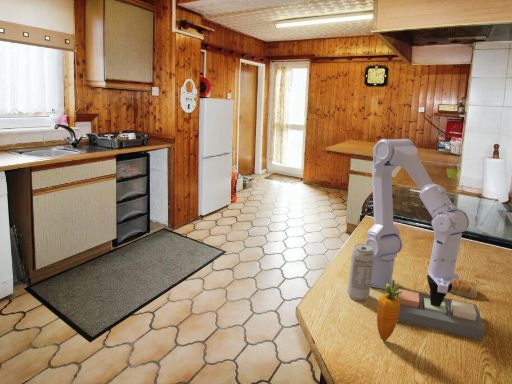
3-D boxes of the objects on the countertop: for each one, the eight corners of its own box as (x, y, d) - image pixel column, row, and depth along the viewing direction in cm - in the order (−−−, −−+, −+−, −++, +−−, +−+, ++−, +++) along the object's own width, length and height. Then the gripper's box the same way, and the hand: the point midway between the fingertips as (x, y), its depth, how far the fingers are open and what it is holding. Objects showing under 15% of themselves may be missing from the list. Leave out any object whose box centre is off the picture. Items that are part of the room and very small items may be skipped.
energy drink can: (368, 292, 107) (375, 245, 103) (368, 303, 101) (375, 253, 97) (347, 288, 108) (353, 241, 105) (346, 299, 103) (351, 249, 99)
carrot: (389, 334, 88) (398, 277, 84) (398, 347, 84) (407, 289, 80) (369, 333, 88) (377, 277, 84) (376, 347, 83) (385, 288, 79)
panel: (389, 318, 94) (391, 308, 94) (391, 296, 105) (392, 287, 105) (482, 340, 87) (485, 330, 86) (474, 314, 98) (476, 304, 97)
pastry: (441, 293, 109) (443, 281, 108) (439, 283, 115) (441, 272, 114) (477, 300, 105) (479, 288, 104) (473, 289, 112) (475, 278, 111)
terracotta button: (397, 307, 97) (398, 297, 96) (397, 298, 101) (398, 288, 100) (417, 312, 95) (419, 302, 94) (416, 302, 99) (418, 293, 99)
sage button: (423, 317, 95) (425, 307, 94) (422, 307, 99) (424, 297, 98) (444, 322, 93) (446, 311, 92) (442, 312, 97) (444, 302, 97)
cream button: (451, 320, 92) (454, 309, 91) (449, 310, 97) (451, 299, 96) (474, 325, 90) (476, 314, 90) (471, 314, 95) (473, 304, 94)
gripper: (466, 272, 84) (455, 323, 87) (458, 249, 97) (449, 294, 100) (432, 266, 86) (423, 316, 90) (429, 244, 99) (421, 289, 103)
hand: (435, 304), depth 95 cm, fingers closed, pressing on sage button
